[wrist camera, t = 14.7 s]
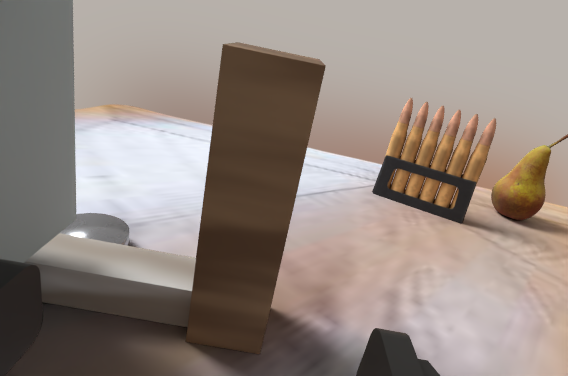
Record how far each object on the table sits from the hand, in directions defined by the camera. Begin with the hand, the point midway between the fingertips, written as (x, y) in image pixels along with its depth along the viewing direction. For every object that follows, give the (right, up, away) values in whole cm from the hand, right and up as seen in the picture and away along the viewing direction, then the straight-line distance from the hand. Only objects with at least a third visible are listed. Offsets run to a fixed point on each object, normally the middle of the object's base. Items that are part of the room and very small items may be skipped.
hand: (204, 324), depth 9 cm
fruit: (+31, 0, +40) cm, 50 cm away
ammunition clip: (+18, +1, +37) cm, 41 cm away
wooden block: (-7, -3, +13) cm, 15 cm away
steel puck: (-11, -1, +17) cm, 20 cm away
